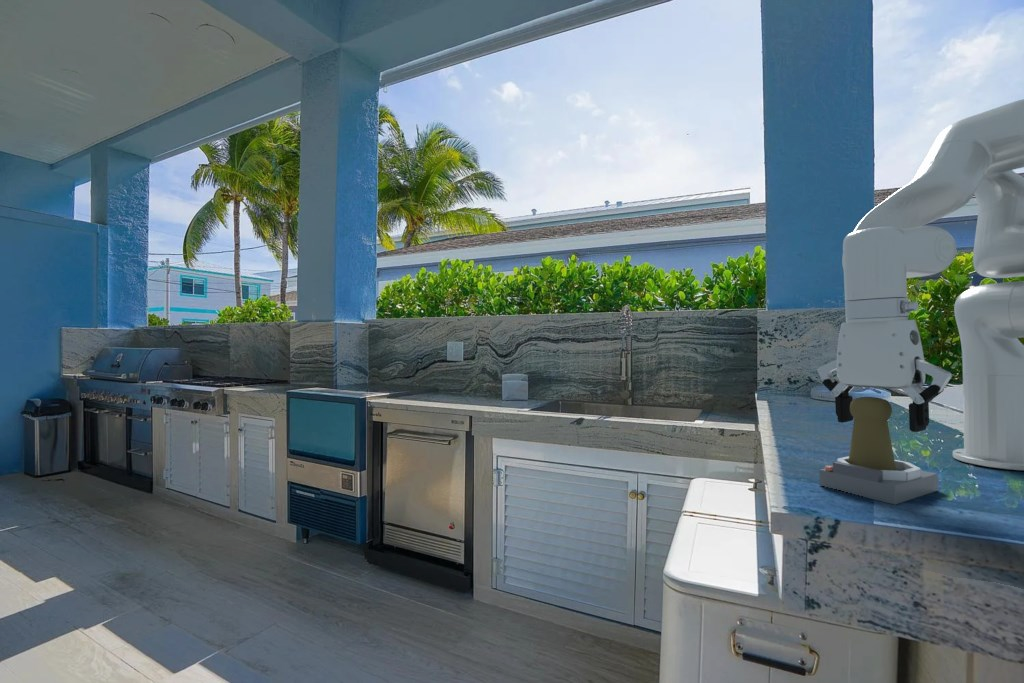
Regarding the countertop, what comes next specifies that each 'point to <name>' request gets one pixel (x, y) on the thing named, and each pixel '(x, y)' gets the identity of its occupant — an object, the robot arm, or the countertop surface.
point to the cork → (871, 434)
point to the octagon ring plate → (880, 481)
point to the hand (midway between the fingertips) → (879, 425)
